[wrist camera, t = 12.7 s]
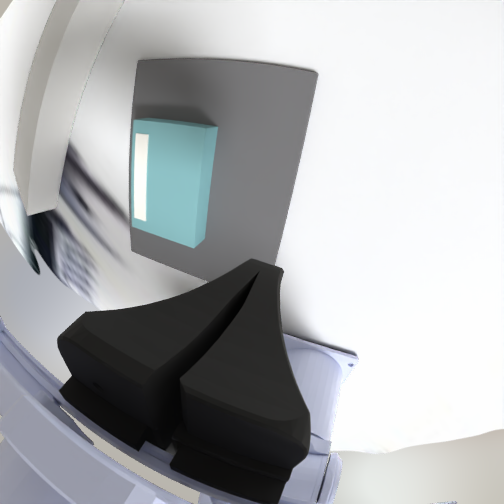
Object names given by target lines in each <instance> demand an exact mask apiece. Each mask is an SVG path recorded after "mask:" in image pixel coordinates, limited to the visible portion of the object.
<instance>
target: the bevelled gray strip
mask: <svg viewBox="0 0 504 504" xmlns="http://www.w3.org/2000/svg"><path fill="white" fill-rule="evenodd" d="M124 1H125V0H57V1H56V3H55V5H54V7H53V9H52V12H51V14H50V16H49V19H48V21H47V23H46V26H45V28H44V31H43V34H42V36H41V39H40V42H39V44H38V47H37V50H36V53H35V56H34V60H33V63H32V66H31V70H30V73H29V77H28V81H27V85H26V89H25V93H24V98H23V102H22V107H21V112H20V118H19V124H18V131H17V138H16V146H15V156H14V168H13V171H14V174H15V178H16V182H17V185H18V188H19V192H20V195H21V198H22V201H23V204H24V207H25V210H26V213H27V216H28V215H32V214H36V213H39V212H43V211H47V210H51V209H55V208H57V203H58V196H59V189H60V183H61V178H62V172H63V167H64V162H65V157H66V152H67V148H68V143H69V139H70V135H71V131H72V128H73V124H74V120H75V117H76V114H77V110H78V107H79V104H80V101H81V98H82V95H83V92H84V89H85V86H86V83H87V81H88V78H89V75H90V72H91V70H92V67H93V65H94V62H95V60H96V57H97V55H98V53H99V50H100V48H101V46H102V44H103V41H104V39H105V37H106V35H107V33H108V31H109V29H110V27H111V25H112V23H113V21H114V19H115V17H116V15H117V13H118V12H119V10H120V8H121V6H122V4H123V3H124Z"/></svg>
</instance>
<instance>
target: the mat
mask: <svg viewBox="0 0 504 504" xmlns="http://www.w3.org/2000/svg"><path fill="white" fill-rule="evenodd" d="M317 78H318V73H315V72H310V71H305V70H300V69H295V68H289V67H283V66H276V65H269V64H262V63H253V62H243V61H232V60H216V59H155V60H139V61H138V64H137V71H136V79H135V87H134V96H133V106H132V118H131V134H130V156H129V211H130V235H131V250H132V252H135V253H137V254H140V255H142V256H145V257H147V258H150V259H152V260H155V261H157V262H160V263H162V264H165V265H167V266H170V267H172V268H175V269H177V270H180V271H182V272H185V273H188V274H190V275H193V276H195V277H198V278H201V279H203V280H206V281H209V282H211V281H213V280H215V279H216V278H218V277H220V276H222V275H224V274H225V273H227V272H229V271H231V270H232V269H234V268H236V267H237V266H239V265H241V264H242V263H244V262H245V261H247V260H249V259H251V258H253V259H256V260H259V261H262V262H265V263H268V264H271V265H274V266H275V262H276V258H277V254H278V250H279V246H280V242H281V238H282V234H283V230H284V226H285V222H286V218H287V213H288V209H289V205H290V201H291V197H292V192H293V188H294V184H295V179H296V175H297V171H298V166H299V162H300V158H301V153H302V149H303V144H304V140H305V135H306V130H307V126H308V121H309V117H310V112H311V107H312V102H313V98H314V93H315V88H316V83H317ZM143 118H157V119H167V120H175V121H184V122H191V123H198V124H205V125H212V126H218V131H217V138H216V145H215V153H214V161H213V168H212V177H211V185H210V194H209V203H208V212H207V222H206V232H205V239H204V240H203V241H202V242H201V243H199V244H198V245H197V246H196V247H195V248H191V247H188V246H186V245H183V244H180V243H177V242H174V241H171V240H168V239H166V238H163V237H160V236H157V235H154V234H152V233H149V232H146V231H143V230H140V229H138V228H135V227H132V211H131V163H132V138H133V122H134V120H136V119H143Z"/></svg>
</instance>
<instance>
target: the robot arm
mask: <svg viewBox="0 0 504 504" xmlns="http://www.w3.org/2000/svg"><path fill="white" fill-rule="evenodd" d="M283 273H284V271H283V269H282V268H280V267H277V266H274V265H271V264H268V263H265V262H262V261H259V260H256V259H253V258H251V259H249V260H247V261H245V262H244V263H242V264H241V265H239V266H237V267H236V268H234V269H232V270H231V271H229V272H227V273H225V274H224V275H222V276H220V277H218V278H216V279H215V280H213V281H211V282H209V283H207V284H204V285H202V286H200V287H198V288H196V289H194V290H191V291H189V292H187V293H184V294H181V295H178V296H176V297H172V298H169V299H166V300H162V301H158V302H154V303H151V304H147V305H142V306H137V307H131V308H125V309H117V310H106V311H93V312H85V313H84V314H82V315H81V316H80V317H79V318H78V319H77V320H76V321H75V322H74V323H72V324H71V325H70V326H69V327H68V328H67V329H66V330H65V331H64V332H63V333H62V334H61V335H60V336H59V337H58V339H57V344H58V349H59V351H60V353H61V355H62V357H63V359H64V361H65V363H66V365H67V367H68V369H69V371H70V372H71V374H72V376H71V378H70V379H69V380H68V381H67V382H66V383H65V384H63V383H62V382H61V381H59V380H58V379H57V378H56V377H55V376H54V375H53V374H51V373H50V372H49V371H48V370H47V369H46V368H45V367H44V366H43V365H41V363H39V362H38V361H37V360H36V359H35V358H34V357H33V356H32V355H31V354H30V353H29V352H28V351H27V350H26V349H25V348H24V347H23V346H22V345H21V344H20V343H19V342H18V341H17V340H16V338H15V337H14V336H13V335H12V334H11V333H10V332H9V331H8V330H7V329H6V327H5V324H4V322H3V320H2V318H1V316H0V415H1V416H2V418H1V419H0V432H1V433H2V435H3V436H4V437H5V438H4V440H3V441H2V442H1V443H0V504H192V503H190V502H188V501H186V500H183V499H181V498H179V497H177V496H176V495H174V494H172V493H170V492H168V491H166V490H164V489H162V488H160V487H158V486H156V485H154V484H153V483H151V482H149V481H147V480H146V479H144V478H142V477H140V476H139V475H137V474H135V473H134V472H132V471H130V470H129V469H127V468H126V467H124V466H122V465H121V464H119V463H118V462H116V461H115V460H113V459H112V458H110V457H108V456H107V455H106V454H104V453H103V452H101V451H100V450H99V449H97V448H96V447H94V446H93V445H94V443H93V442H92V440H90V439H89V438H88V437H87V436H86V435H85V434H84V433H83V432H82V431H81V429H80V428H79V427H78V426H77V425H76V423H75V422H74V420H73V419H71V418H70V416H68V415H67V414H66V413H65V412H64V411H63V410H62V409H61V408H60V406H61V407H62V408H63V409H65V410H66V411H67V412H68V413H69V414H71V415H72V416H73V417H74V418H76V419H77V420H78V421H79V422H81V423H82V424H83V425H84V426H86V427H87V428H88V429H90V430H91V431H92V432H94V433H95V434H97V435H98V436H99V437H101V438H102V439H104V440H105V441H107V442H108V443H110V444H111V445H113V446H114V447H116V448H117V449H119V450H120V451H122V452H123V453H125V454H127V455H128V456H130V457H131V458H133V459H135V460H137V461H138V462H140V463H142V464H143V465H145V466H147V467H149V468H151V469H153V470H154V471H156V472H158V473H160V474H162V475H164V476H166V477H168V478H170V479H172V480H174V481H176V482H179V483H180V484H183V485H185V486H187V487H189V488H191V489H194V490H196V491H199V492H200V496H199V501H198V504H333V501H334V498H335V495H336V491H337V488H338V484H339V480H340V475H341V470H342V459H341V458H340V457H339V455H338V453H333V452H331V455H330V458H329V462H328V463H327V459H328V455H329V451H330V446H331V441H330V440H331V435H332V431H333V426H334V421H335V416H336V411H337V405H338V400H339V394H340V388H341V386H342V384H343V383H344V382H345V380H346V379H347V377H348V376H349V375H350V373H351V372H352V370H353V369H354V368H355V366H356V365H357V363H358V357H357V356H354V355H350V354H347V353H344V352H340V351H337V350H334V349H330V348H327V347H324V346H321V345H318V344H314V343H311V342H308V341H305V340H302V339H299V338H296V337H293V336H290V335H287V334H284V333H283V331H282V324H281V315H280V284H281V280H282V277H283ZM350 363H352V364H350ZM326 463H327V467H326ZM325 468H326V470H325ZM324 472H325V474H324ZM316 500H317V502H316ZM432 504H457V502H456V501H453V502H444V503H432Z"/></svg>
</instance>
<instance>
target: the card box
mask: <svg viewBox="0 0 504 504" xmlns="http://www.w3.org/2000/svg"><path fill="white" fill-rule="evenodd" d="M217 131H218V126H212V125H205V124H198V123H191V122H184V121H175V120H167V119H157V118H143V119H136V120H134V122H133V138H132V163H131V211H132V227H135V228H138V229H140V230H143V231H146V232H149V233H152V234H154V235H157V236H160V237H163V238H166V239H168V240H171V241H174V242H177V243H180V244H183V245H186V246H188V247H191V248H195V247H196V246H197V245H198V244H199V243H201V242H202V241H203V240H204V239H205V232H206V222H207V212H208V203H209V194H210V185H211V177H212V168H213V161H214V153H215V145H216V138H217Z"/></svg>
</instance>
